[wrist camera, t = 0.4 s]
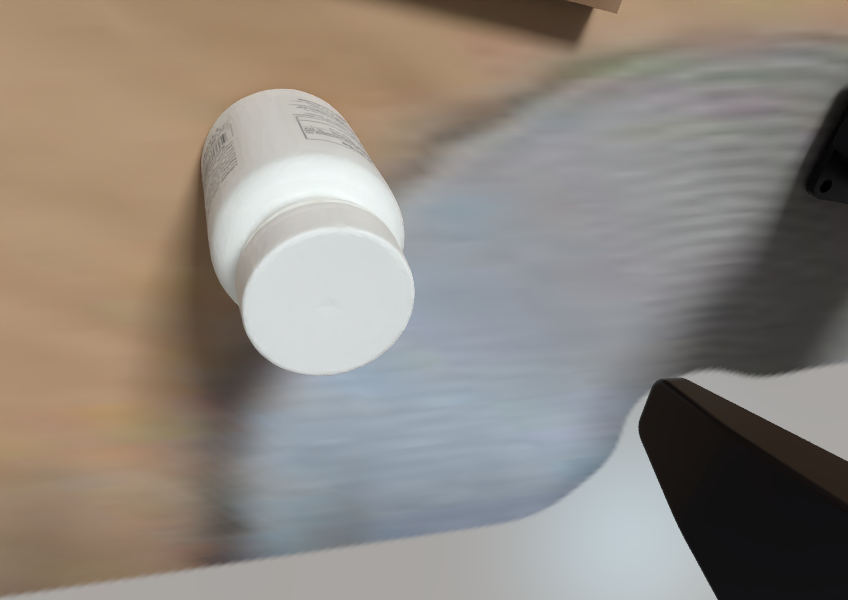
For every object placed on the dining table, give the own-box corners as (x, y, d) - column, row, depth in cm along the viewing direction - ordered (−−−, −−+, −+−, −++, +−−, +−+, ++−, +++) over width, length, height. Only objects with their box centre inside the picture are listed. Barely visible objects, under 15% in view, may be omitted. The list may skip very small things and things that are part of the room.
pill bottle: (240, 255, 21) (269, 427, 15) (172, 119, 19) (172, 258, 12) (377, 202, 22) (461, 347, 15) (329, 62, 19) (406, 168, 13)
